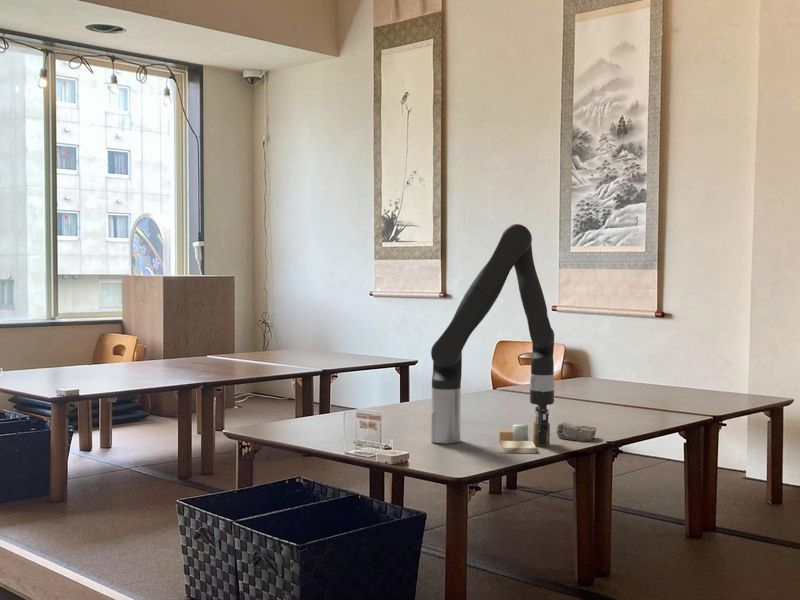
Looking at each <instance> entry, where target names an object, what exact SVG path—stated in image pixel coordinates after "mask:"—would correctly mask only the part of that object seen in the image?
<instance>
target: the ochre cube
mask: <svg viewBox="0 0 800 600" xmlns="http://www.w3.org/2000/svg"><path fill="white" fill-rule="evenodd" d="M512 430H513V429H499V430H498V443H499V444H500V441H513V431H512Z"/></svg>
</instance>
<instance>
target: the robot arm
mask: <svg viewBox="0 0 800 600" xmlns="http://www.w3.org/2000/svg"><path fill="white" fill-rule="evenodd" d="M499 239H500V240H499V241H498V243H497V245H496V247H495V248H494V252H493V253H492V255H491V257H490V258H489V260H488V261H487V263H486V264H485V265H484V266H483V267H482V269H481V270H480V271H479V273H478V274H477V276H476V277H475V278H474V280H473V281H472V282H471V284H470V286H469V288H468V289H467V291H466V292H465V293H464V296H463V297H462V299H461V301H460V302H459V305H458V307H457V308H456V311H455V314H454V315H453V317H452V319H451V321H450V323H449V324H448V326H447V327H446V329H445V330H444V332H442V333H441V335H440V336H439V338H438V339H437V340H436V341H435V342H434V344H432V346H431V350H430V356H431V360H432V361H433V362H432V364H433V365H432V377H431V433H430V434H431V435H430V436H431V441H430V442H431V443H437V444H456V443H460V442H461V410H462V409H461V407H462V406H461V397H462V396H461V394H462V393H461V391H462V390H461V386H462V384H461V382H462V375H463V374H462V366H463V359H462V357H463V349H464V347H465V346H466V343H467V342H468V340H469V339H470V336H471V334H472V333H473V332H474V331H475V329H476V328H477V327H478V326H479V325H480V324H481V322H482V321H483V320H484V319H485V317H486V316H487V314H488V313H489V312H490V310H491V309H492V307H493V306H494V304H495V302H496V301H497V299H498V297H499V296H500V293H501V292H502V290H503V288H504V286H505V283H506V280H507V278H508V276H509V274H510V272H511V270H512V269H513V268H514V270H515V274H516V278H517V284H518V291H519V296H520V298H521V299H520V300H521V303H522V307H523V310H524V314H525V317H526V320H527V327H528V331H529V336H530V340H531V342H532V343H531V344H532V347H531V348H532V349H531V350H532V357H531V359H530V361H531V362H530V365H531V366H530V380H529V403H530V404H532V405H536V407H534V408H535V409H534V414H535V415H534V416H535V419H534V422H537V424H538V425H539V430H538V431H539V444H546V432H547V431H548V422H549V416H550V410H549V409H548V408H547V406H549V405H550V406H551V405H554V403H555V376H554V374H555V371H554V369H555V368H554V366H555V364H554V349H555V332H554V330H553V329H552V326H551V323H550V322H551V321H550V318H549V316H548V307H547V303H546V300H545V296H544V292H543V289H542V286H541V283H540V279H539V276H538V273H537V270H536V267H535V262H534V257H533V256H534V255H533V245H532V243H533V242H532V241H533V238H532V233H531V232H530V230H529V229H528V228H527V226H525V225H523V224H519V223H516V224H511V225H508V226H507V227H506V228H505V229H504V231H503V232H502V235H501V236H500V238H499ZM542 425H545V427H541V426H542Z"/></svg>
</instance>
